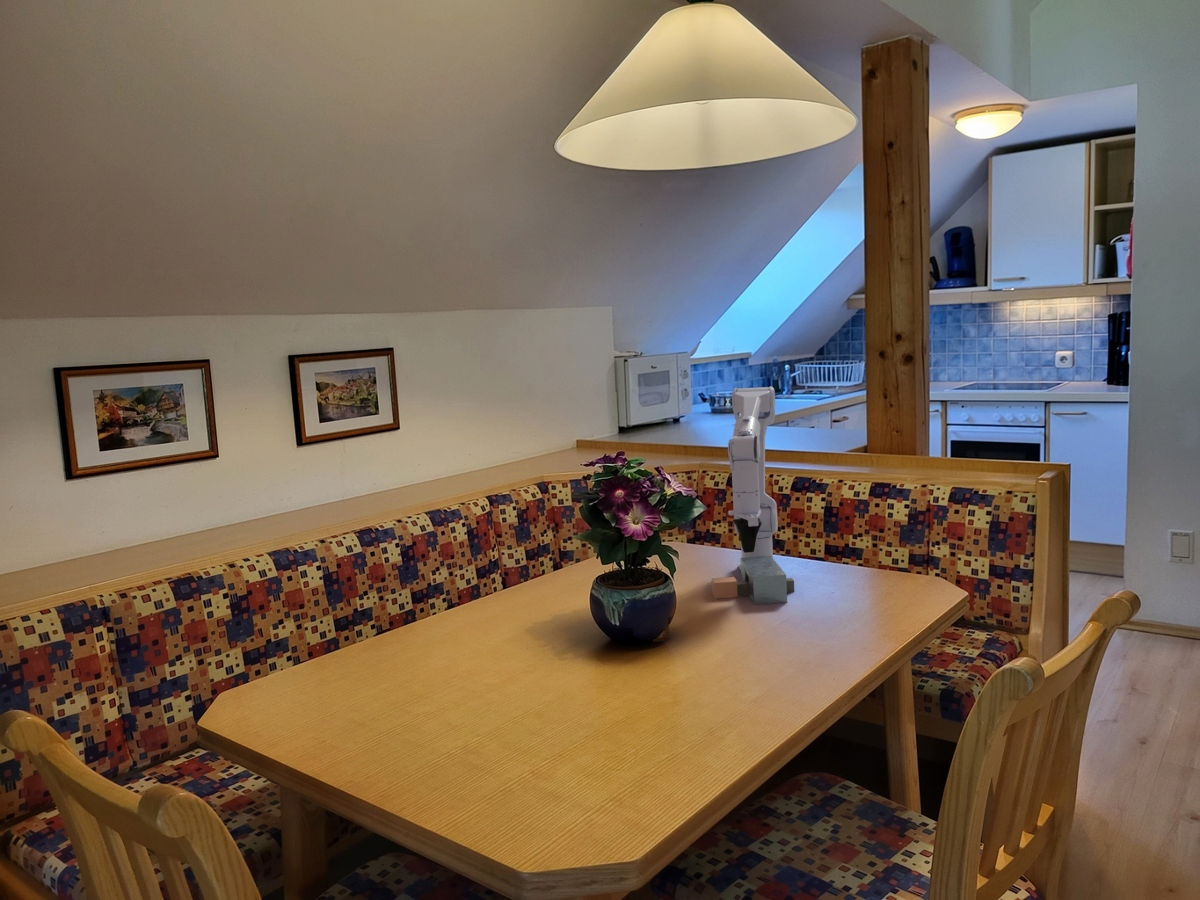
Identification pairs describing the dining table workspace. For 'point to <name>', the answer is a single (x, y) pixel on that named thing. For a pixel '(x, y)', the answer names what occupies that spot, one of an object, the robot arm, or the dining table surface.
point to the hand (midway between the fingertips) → (748, 551)
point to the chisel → (737, 587)
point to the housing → (764, 580)
